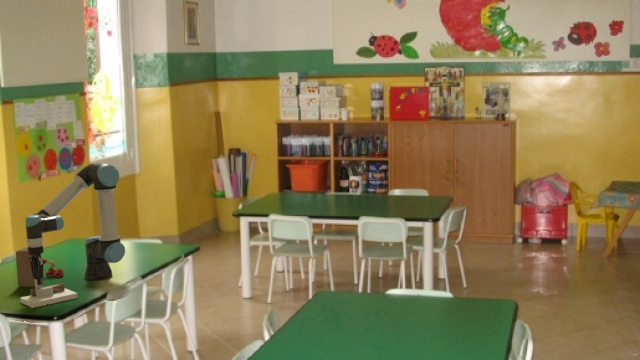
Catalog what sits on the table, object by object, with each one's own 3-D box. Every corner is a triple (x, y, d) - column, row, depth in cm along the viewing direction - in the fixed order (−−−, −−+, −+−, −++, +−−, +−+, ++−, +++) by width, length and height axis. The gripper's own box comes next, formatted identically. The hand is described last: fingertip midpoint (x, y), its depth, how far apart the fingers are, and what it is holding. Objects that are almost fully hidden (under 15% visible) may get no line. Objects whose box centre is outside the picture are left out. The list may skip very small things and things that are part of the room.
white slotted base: (65, 292, 450) (64, 280, 449) (77, 297, 439) (76, 285, 439) (20, 302, 434) (19, 289, 433) (32, 307, 424) (31, 295, 423)
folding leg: (63, 288, 447) (62, 282, 447) (65, 290, 445) (65, 283, 444) (30, 295, 437) (30, 288, 436) (32, 296, 435) (32, 290, 434)
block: (34, 287, 462) (31, 251, 460) (17, 287, 464) (14, 251, 462) (43, 282, 472) (41, 247, 469) (27, 282, 474) (24, 247, 471)
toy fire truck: (61, 277, 483) (59, 260, 482) (40, 276, 488) (39, 259, 486) (64, 276, 486) (63, 259, 485) (44, 274, 491) (43, 258, 489)
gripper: (22, 245, 440) (26, 290, 443) (33, 248, 430) (37, 294, 434) (36, 242, 445) (40, 287, 448) (47, 246, 435) (51, 291, 439)
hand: (38, 290), depth 441 cm, fingers closed
